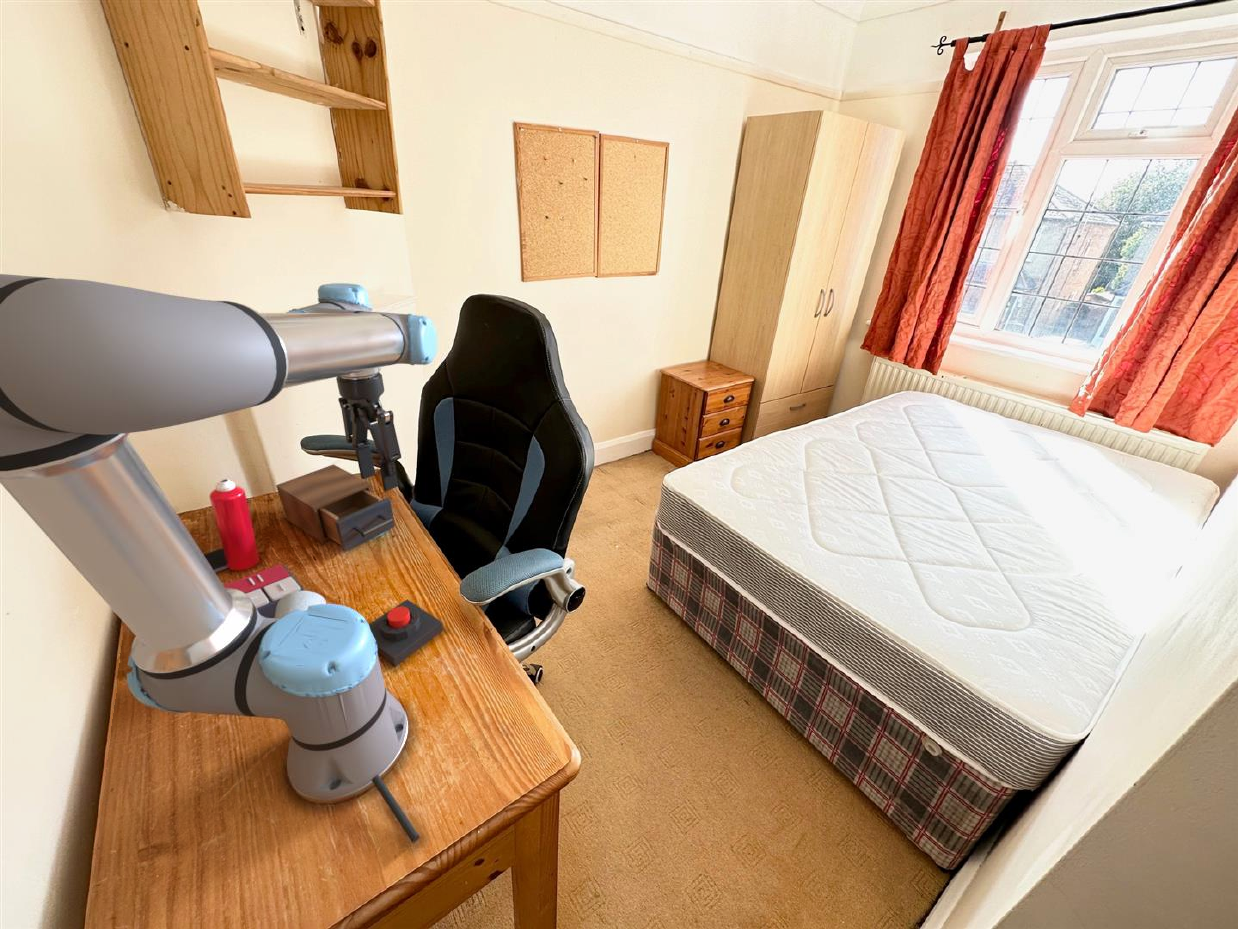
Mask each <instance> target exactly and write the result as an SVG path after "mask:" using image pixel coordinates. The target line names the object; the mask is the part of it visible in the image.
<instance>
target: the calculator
mask: <svg viewBox="0 0 1238 929" xmlns="http://www.w3.org/2000/svg"><path fill="white" fill-rule="evenodd" d="M223 586H224V587H225V588H232V589H237V590H239V591H242V592H244V593H245V594H246V595H247V596H249V598H250V599H251V601H252V603H253V604H254V606H255V607H256V609H257V610H258V612H259V614H260V615H261V616H263V617H266V618H274V617H275V613H276V607H277V604H278V602H279V601H280V599H281V598H283V597H284V596H285V595H287V594H290V593H292V592H296V591H305V588H304V587H303V586H302V585H301V584H300V583H299V581H298V580H297V579H296V578H295V575H293V574H292V573H291V571H290V570H289V569H288V568H287V566H286V565H285V564H281V563H280V564H277V565H274V566H271V567H269V568H266V569H264V570H261V571H258V572H255V573H252V574H250V575H247V576H245V577H242V578H240V579H237V580H234V581H231V582H228V583H226V584H223Z"/></svg>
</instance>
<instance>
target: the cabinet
mask: <svg viewBox="0 0 1238 929" xmlns="http://www.w3.org/2000/svg"><path fill="white" fill-rule="evenodd" d="M275 486H276V489H277V492H278V496H279V499H280V500H279V501H280V503H281V506H282V509H283V513H284V515H285V519H286V520H287V521H288V522H290V523H291V524H293V525H295V526H296V527H298V528H299V529H300V530H302V531H304V532H305V533H306V534H308V535H310V536H311V537H313V538H314V539H315V540H317V541H319V542H320V543H321V544H324V543H326V542H328V541H330V540H332V539H331V538H329V537H328V536H326V535H325V534H324V533H323V529H322V525H321V522H320V518H319V514H318V511H317V509H319V508H322V507H324V506H326V505H329V504H331V503H333V502H336V501H338V500H340V499H343V498H345V497H347V496H350V495H352V494H354V493H357V492H359V491H362V490H364V489H366V490H368V491H369V492H371V493H373V490H372V485H371V483H370V482H368V481H366V480H365V479H364V480H363V479H362V478H361V477H359V476H357V475H354V474H352V473H351V472H349V471H347V470H346V469H343V468H341V467H340V466H337V465H336V464H334V463H333V464H331V465H328V466H325V467H322V468H320V469H317V470H314V471H311V472H308V473H305V474H303V475H301V476H298V477H295V478H292V479H289V480H287V481H284V482H280V483H279V484H276V485H275Z"/></svg>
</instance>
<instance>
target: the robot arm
mask: <svg viewBox="0 0 1238 929" xmlns="http://www.w3.org/2000/svg"><path fill="white" fill-rule="evenodd" d="M317 302H318V303H315V304H311V305H307V306H305V307H300V308H299V307H298V308H292V309H290V310H288V311H287V312H259V311H257V310H255V309H253V308H251V307H250V306H247V305H246V304H244V303H239V302H237V301H236V302H235V301H228V300H211V299H198V298H194V297H188V296H187V297H186V296H180V295H174V294H169V293H162V292H156V291H151V290H145V289H142V288H135V287H132V286H131V287H130V286H124V285H118V284H112V283H107V282H99V281H94V280H88V279H72V278H62V277H60V278H59V277H57V278H55V277H44V276H32V275H31V276H30V275H18V274H8V273H7V274H6V273H0V485H1V486H2V487H3V488H4V489H5V490H6V491H7V493H8V494H9V495H10V496H11V497H12V498H13V499H14V501H16V503H17V504H18V505H19V506H20V507H21V508H22V510H23V511H25V513H26V514H27V515H28V516H29V518H30V519H32V521H33V522H34V523H35V524H36V525H37V526H38V528H39V529H40V530H41V531H42V532H43V533H44V535H46V537H48V539H49V540H50V541H51V542H52V543H53V544H54V546H55V547H56V548H57V549H58V550H59V551H60V552H61V553H62V555H63V556H64V557H65V558H66V559H67V560H68V561H69V562H70V563H71V565H72V566H73V567H74V568H75V569H76V570H77V571H78V572H79V574H80V575H81V576H82V577H83V578H84V579H85V580H86V582H88V584H89V585H90V586H91V587H92V588H93V589H94V591H95V592H96V593H97V594H98V595H99V596H100V597H101V598H102V599H103V600H104V602H105V603H106V604H107V605H108V606H109V608H111V610H112V611H113V612H114V613H115V614H116V615H117V616H118V618H119V619H120V620H121V621H122V622H123V623H124V624H125V625H126V626H127V627H128V629H129V630H130V631H131V632H132V633H133V634H134V635H135V637H134V639H133V641H132V643H131V649H130V654H129V657H128V659H127V660H128V661H127V666H128V667H130V668H131V671H129V672H128V673H127V674H126V682H127V685H128V688H129V690H130V692H131V694H132V696H133V697H134V698H135V699H136V700H137V701H139V702H140V703H142V704H143V705H144V706H146V707H150V708H154V709H157V710H161V711H163V712H169V713H172V714H173V713H174V714H186V713H188V714H189V713H195V714H210V715H220V716H221V715H223V716H236V717H249V718H250V717H251V718H263V719H264V718H265V719H276V720H281V721H283V722H285V725H286V726H287V727H286V728H287V730H288V732H289V734H290V738H289V744H288V749H287V750H288V751H287V756H286V771H287V776H288V779H289V780H288V781H289V782H290V784H291V786H292V788H293V791H294V792H295V793H296V794H297V795H298V796H299V797H300V798H302V799H303V800H305V801H308V802H310V803H313V804H317V805H319V804H320V805H331V804H338V803H343V802H346V801H349V800H352V799H354V798H356V797H358V796H360V795H363V794H365V793H366V792H368V791H369V790H371V789H373V788H374V787H375V788H376V790H377V791H378V792H379V794H380V795H381V797H382V798H383V800H384V802H385V803H386V804H387V806H388V808H389V809H390V811H391V812H392V814H393V815H394V817H395V818H396V820H397V822H398V823H399V825H400V827H401V828H402V829H403V831H404V832H405V834H406V836H408V839H410V841H411V843H412V844H413V843H416V842H417V841H418V840H419V839H420V834H419V833H418V832H417V830H416V829H415V827H414V825H413V824H412V823H411V821H410V820H409V818H408V817H407V815H406V814H405V812H404V810H403V809H402V807H401V806H400V805H399V803H398V801H397V800H396V798H395V797H394V796H393V794H392V793H391V791H390V790H389V788H388V787H387V785H386V784H385V782H384V781H383V780H384V779H385V778H386V777H387V776H388V775H389V774H390V773H391V772H392V771H393V769H394V768H395V767H396V766H397V764H398V763H399V761H400V759H401V758H402V756H403V754H404V752H405V749H406V747H407V745H408V741H409V732H410V727H409V721H408V716H407V714H406V711H405V709H404V707H403V705H402V704H401V703H400V701H399V700H398V699H397V698H396V697H395V696H394V695H392V693H391V692H389V690H388V689H387V687H386V684H385V680H384V676H383V670H382V668H381V667H382V666H381V663H380V657H379V654H378V653H377V644H376V640H375V638H374V636H373V634H372V632H371V630H370V627H369V623H368V621H367V619H366V618H365V617H364V616H363V615H362V614H361V613H360V612H358V611H357V610H355V609H354V608H352V607H349V606H346V605H342V604H337V603H326V604H317V605H312V606H309V607H308V609H307V610H306V611H302V610H300V609H298V610H295V611H293V612H291V613H289V614H287V615H285V616H283V617H282V618H280V619H276V618H275V617H270V618H266V617H263V616H261V615H260V614H259V612H258V610H257V609H256V607H255V606H254V604H253V603H252V601H251V599H250V598H249V596H247V595H246V594H245V593H244V592H242V591H239V590H237V589H232V588H225V587H224V586H223V585H224V584H223V582H222V581H221V580H220V578H219V576H218V575H217V572H216V573H215V572H214V570H213V569H212V567H211V566H210V564H209V562H208V561H207V559H206V558H205V556H204V553H203V552H202V549H200V547H199V546H198V544H197V542H196V541H195V539H194V538H193V536H192V535H191V533H190V531H189V530H188V528H187V527H186V526H185V523H184V522H183V521H182V519H181V517H180V516H179V514H178V513H177V511H176V510H175V508H174V507H173V505H172V503H171V502H170V501H169V499H168V497H167V496H166V494H165V493H164V491H163V489H162V488H161V487H160V485H159V483H158V482H157V480H156V479H155V478H154V476H153V473H152V472H151V471H150V469H149V467H148V466H147V465H146V463H145V462H144V460H143V459H142V457H141V454H139V453H138V451H137V449H136V448H135V446H134V445H133V443H132V442H131V440H130V438H129V437H128V436H129V435H130V434H131V433H132V434H133V433H140V432H148V431H153V430H159V429H166V428H169V427H174V426H179V425H183V424H188V423H189V424H190V423H193V422H197V421H201V420H205V419H206V420H207V419H210V418H213V417H218V416H222V415H226V414H230V413H234V412H238V411H243V410H245V409H249V408H253V407H258V406H261V405H264V404H266V403H269V402H271V401H272V400H274V399H275V398H276V397H278V395H279V394H280V393H281V392H282V391H283V389H288V388H292V387H297V386H301V385H302V386H303V385H305V384H309V383H315V382H321V381H324V380H329V379H333V378H336V384H337V388H338V394H339V396H340V397H338V399H337V400H338V403H339V406H340V409H341V416H342V421H343V428H344V429H343V430H344V436H345V440H346V443H347V444H351V446H352V449H354V451H355V455H356V459H357V464H358V465H357V466H358V469H359V474H360V478H361V479H362V480H364V481H365V480H366V479H369V478H371V477H373V476H376V475H377V474H376V468H375V464H374V458H373V455H372V454H373V453H372V449H371V446H369V445H370V444H371V442H370V441H369V440H368V431H369V433H370V435H371V437H372V440H373V444H374V445H375V448H376V451H377V453H378V456H379V458H380V460H378V461H377V463H378V466H379V471H380V475H381V476H380V477H381V481H382V482H381V483H382V488H383V491H385V492H388V491H391V490H392V489H395V488H398V487H399V482H398V477H397V476H398V475H397V468H396V463H395V461H397V460H400V459H402V453H401V449H400V448H401V447H400V445H399V440H398V436H397V430H396V427H395V422H394V418H395V416H394V412H393V411H392V410H391V409H390V410H387V411H386V410H385V409H384V408H383V405H382V402H381V399H380V398H381V396H382V395H383V394H384V392H385V385H384V380H383V375H382V373H381V370H382V369H381V368H384V367H389V366H394V365H400V364H402V365H410V366H415V365H419V366H426V365H429V364H431V363H432V362H433V361H434V360H435V357H436V355H437V350H438V336H437V335H438V334H437V330H436V326H435V325H434V323H433V321H432V320H431V319H430V318H429V317H427V316H424V315H418V314H417V315H416V314H412V313H407V314H406V313H394V312H382V311H381V312H380V311H373V309H372V306H371V303H370V298H369V294H368V291H367V289H366V288H365V287H364V286H362V285H360V284H357V283H356V284H355V283H345V282H341V283H339V282H335V283H333V282H332V283H325V284H321V285H320V286H319V287H318V289H317Z"/></svg>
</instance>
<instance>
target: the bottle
mask: <svg viewBox="0 0 1238 929" xmlns="http://www.w3.org/2000/svg"><path fill="white" fill-rule="evenodd" d="M209 501H210V504H211V509H212V512H213V517H214V520H215V524H216V527H217V531H218V535H219V539H220V543H221V546H222V549H223V551H224V555H225V559H226V563H227V566H228V568H227V569H229V570H230V571H235V572H238V571H244V570H249V569H251V568H253V567H255V566H256V565H257V564H258V563H259V562H260V560H261V558H260V555H259V550H258V545H257V540H256V536H255V530H254V527H253V523H252V518H251V514H250V509H249V505H248V500H247V495H246V491H245V489H244V488H243V487H242V486H239V485H236V483H235V482H234V481H233V480H229V479H228V478H223V479H221V480H219V481H218V482H217V483H216V484H215V489H213V490H212V491H211V492H210V493H209Z"/></svg>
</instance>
